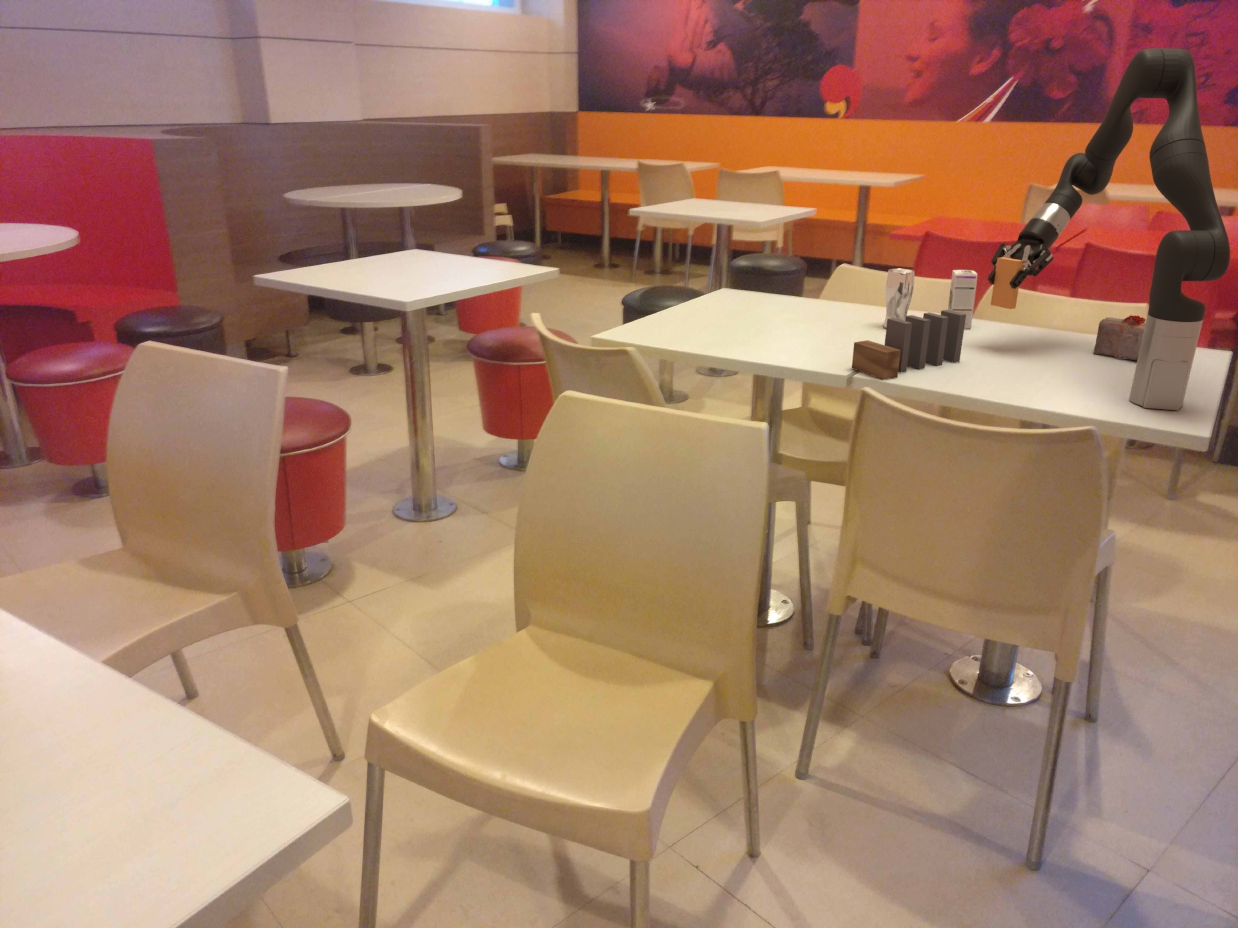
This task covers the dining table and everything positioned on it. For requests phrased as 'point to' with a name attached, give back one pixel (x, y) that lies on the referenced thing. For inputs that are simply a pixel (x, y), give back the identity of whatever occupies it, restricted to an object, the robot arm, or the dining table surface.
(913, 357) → the domino
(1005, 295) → the orange tile
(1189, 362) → the robot arm
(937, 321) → the domino
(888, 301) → the beer glass
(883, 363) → the block
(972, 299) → the syrup box
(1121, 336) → the food item
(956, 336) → the domino
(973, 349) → the dining table surface
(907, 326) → the domino
